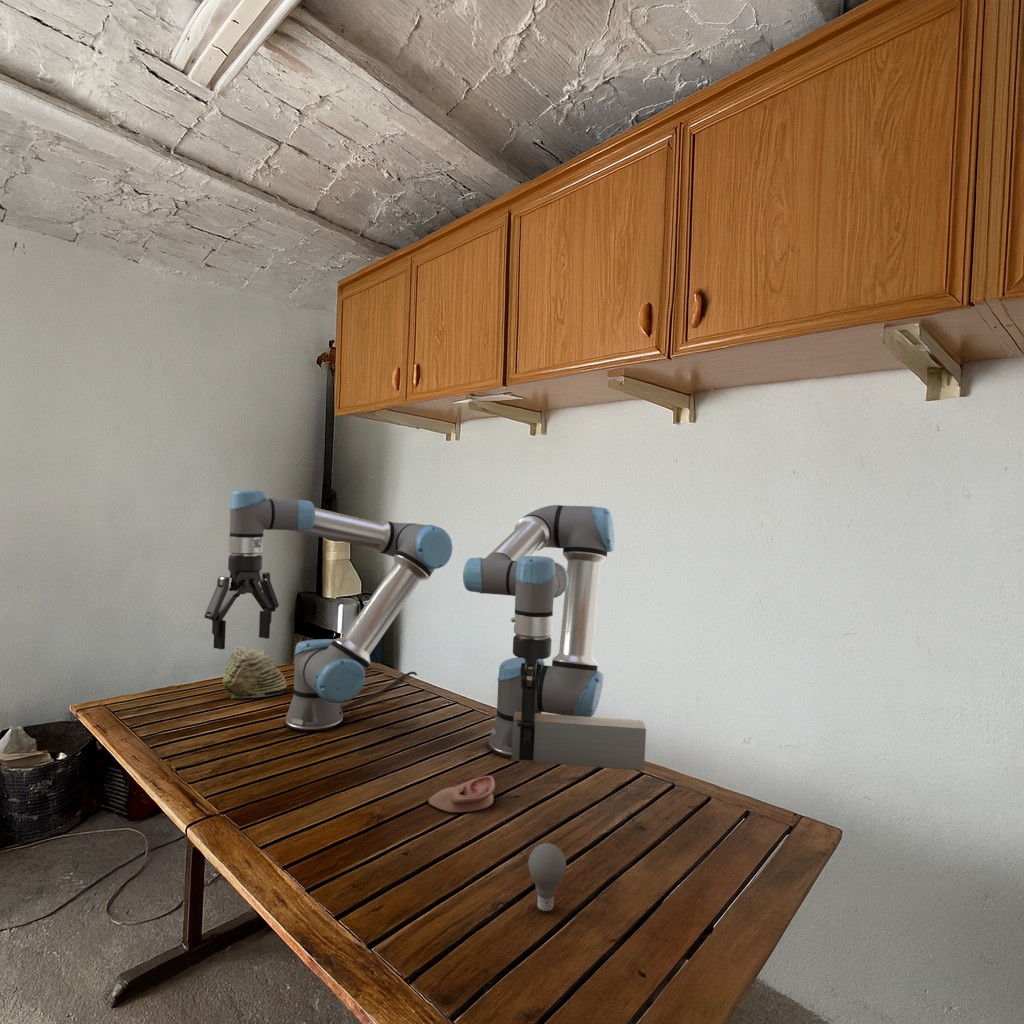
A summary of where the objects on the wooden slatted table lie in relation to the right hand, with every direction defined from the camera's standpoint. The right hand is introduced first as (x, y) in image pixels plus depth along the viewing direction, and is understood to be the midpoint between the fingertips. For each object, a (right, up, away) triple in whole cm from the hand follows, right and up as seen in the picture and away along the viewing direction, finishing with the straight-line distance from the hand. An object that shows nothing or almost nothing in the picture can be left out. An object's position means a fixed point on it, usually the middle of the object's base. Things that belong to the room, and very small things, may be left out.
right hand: (526, 753), depth 124 cm
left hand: (-68, +16, +28) cm, 75 cm away
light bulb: (+2, -15, -24) cm, 29 cm away
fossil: (-84, -10, +74) cm, 112 cm away
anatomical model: (-14, -14, +10) cm, 22 cm away
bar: (+10, -1, -1) cm, 10 cm away
